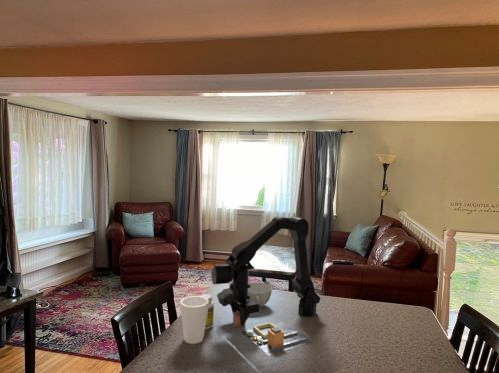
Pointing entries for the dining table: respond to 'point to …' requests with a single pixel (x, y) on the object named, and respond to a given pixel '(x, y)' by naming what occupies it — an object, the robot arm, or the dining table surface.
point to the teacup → (259, 293)
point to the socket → (256, 328)
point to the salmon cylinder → (236, 319)
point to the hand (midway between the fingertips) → (239, 322)
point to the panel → (290, 339)
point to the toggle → (275, 337)
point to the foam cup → (194, 318)
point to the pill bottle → (209, 311)
